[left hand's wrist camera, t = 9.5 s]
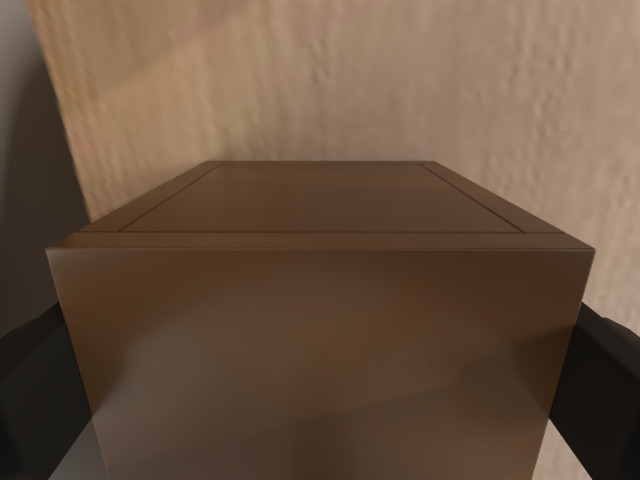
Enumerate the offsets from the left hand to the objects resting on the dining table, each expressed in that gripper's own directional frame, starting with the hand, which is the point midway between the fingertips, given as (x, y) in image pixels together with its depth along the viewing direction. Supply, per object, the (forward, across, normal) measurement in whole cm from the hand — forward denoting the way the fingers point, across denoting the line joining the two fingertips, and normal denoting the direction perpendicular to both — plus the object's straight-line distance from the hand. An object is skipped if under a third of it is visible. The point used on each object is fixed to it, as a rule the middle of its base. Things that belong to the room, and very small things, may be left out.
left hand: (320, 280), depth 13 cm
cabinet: (+7, 0, -6) cm, 9 cm away
